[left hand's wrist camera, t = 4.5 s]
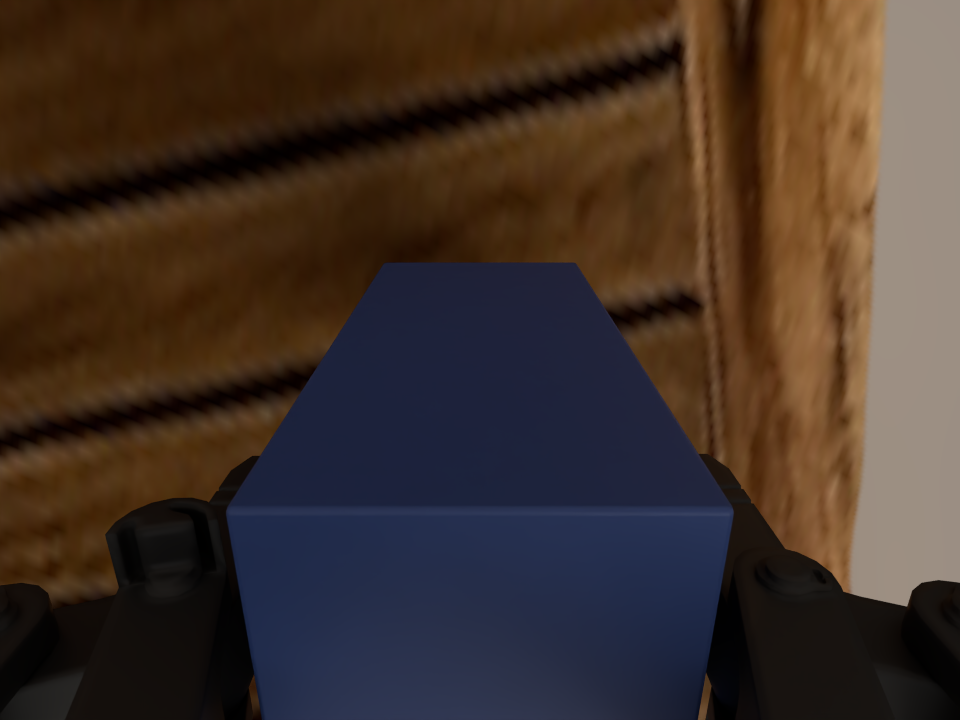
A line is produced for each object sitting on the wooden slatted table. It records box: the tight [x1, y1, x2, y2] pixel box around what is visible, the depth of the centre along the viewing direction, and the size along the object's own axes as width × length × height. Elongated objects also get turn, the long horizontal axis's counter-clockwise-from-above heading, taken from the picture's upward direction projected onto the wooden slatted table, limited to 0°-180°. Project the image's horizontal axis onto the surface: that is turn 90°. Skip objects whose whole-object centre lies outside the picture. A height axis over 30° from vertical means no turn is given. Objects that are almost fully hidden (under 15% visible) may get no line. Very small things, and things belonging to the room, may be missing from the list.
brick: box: [226, 263, 734, 720], centre depth 12 cm, size 5×6×10 cm
